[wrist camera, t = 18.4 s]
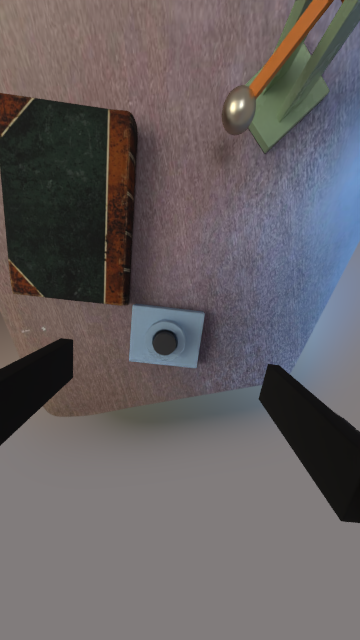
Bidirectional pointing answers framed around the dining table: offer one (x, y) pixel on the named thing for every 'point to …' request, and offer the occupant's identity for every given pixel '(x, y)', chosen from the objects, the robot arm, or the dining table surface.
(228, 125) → the switch lever
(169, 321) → the button housing
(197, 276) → the dining table surface
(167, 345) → the button
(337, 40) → the switch bracket
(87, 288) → the book
